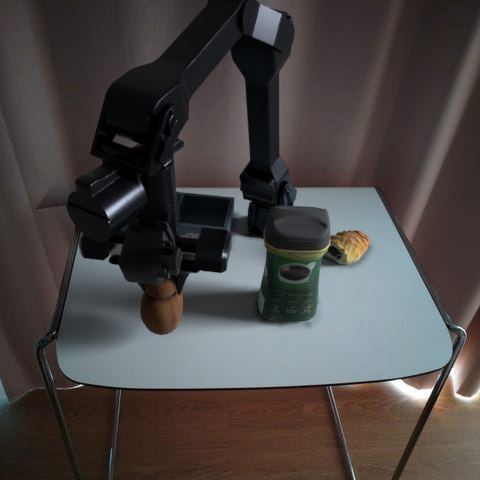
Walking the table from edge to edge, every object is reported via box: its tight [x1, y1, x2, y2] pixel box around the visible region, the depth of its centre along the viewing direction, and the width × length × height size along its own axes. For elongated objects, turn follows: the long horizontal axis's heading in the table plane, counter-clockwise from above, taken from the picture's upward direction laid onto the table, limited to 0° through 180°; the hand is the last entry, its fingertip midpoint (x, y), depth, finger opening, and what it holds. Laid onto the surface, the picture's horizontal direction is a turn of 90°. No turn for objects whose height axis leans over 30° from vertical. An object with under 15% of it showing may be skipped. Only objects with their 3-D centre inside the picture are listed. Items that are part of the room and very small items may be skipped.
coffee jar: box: [257, 205, 331, 323], centre depth 75 cm, size 10×8×19 cm
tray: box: [120, 191, 235, 235], centre depth 94 cm, size 20×11×4 cm, turn 83°
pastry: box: [323, 229, 371, 265], centre depth 91 cm, size 9×7×4 cm
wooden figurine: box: [139, 275, 184, 336], centre depth 69 cm, size 7×6×15 cm
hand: (162, 290), depth 70 cm, fingers closed on wooden figurine, 4 cm apart
